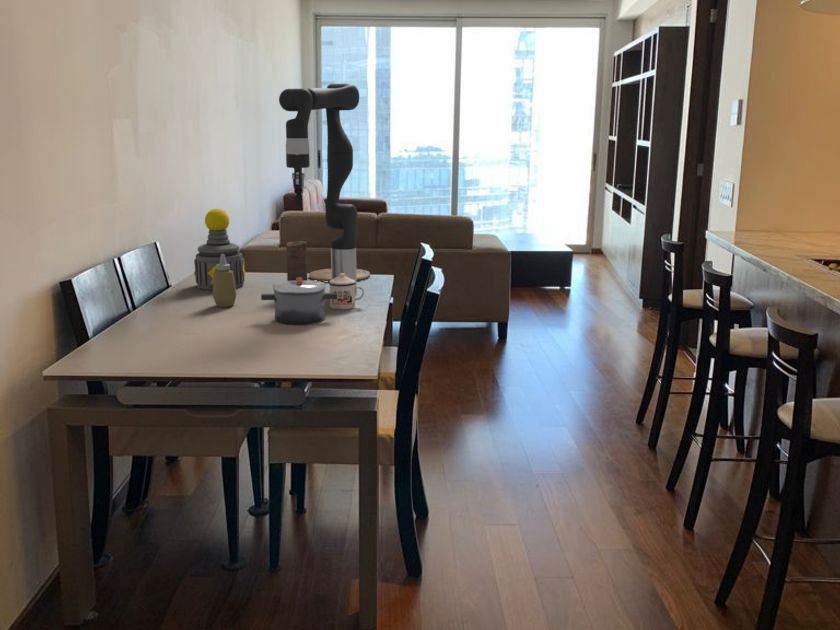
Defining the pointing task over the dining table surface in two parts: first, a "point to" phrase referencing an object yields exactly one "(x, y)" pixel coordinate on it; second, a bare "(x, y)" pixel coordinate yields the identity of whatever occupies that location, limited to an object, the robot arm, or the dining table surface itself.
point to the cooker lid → (299, 286)
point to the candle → (296, 260)
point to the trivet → (326, 275)
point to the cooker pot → (299, 307)
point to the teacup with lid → (344, 292)
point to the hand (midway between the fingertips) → (299, 206)
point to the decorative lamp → (217, 252)
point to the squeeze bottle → (224, 284)
